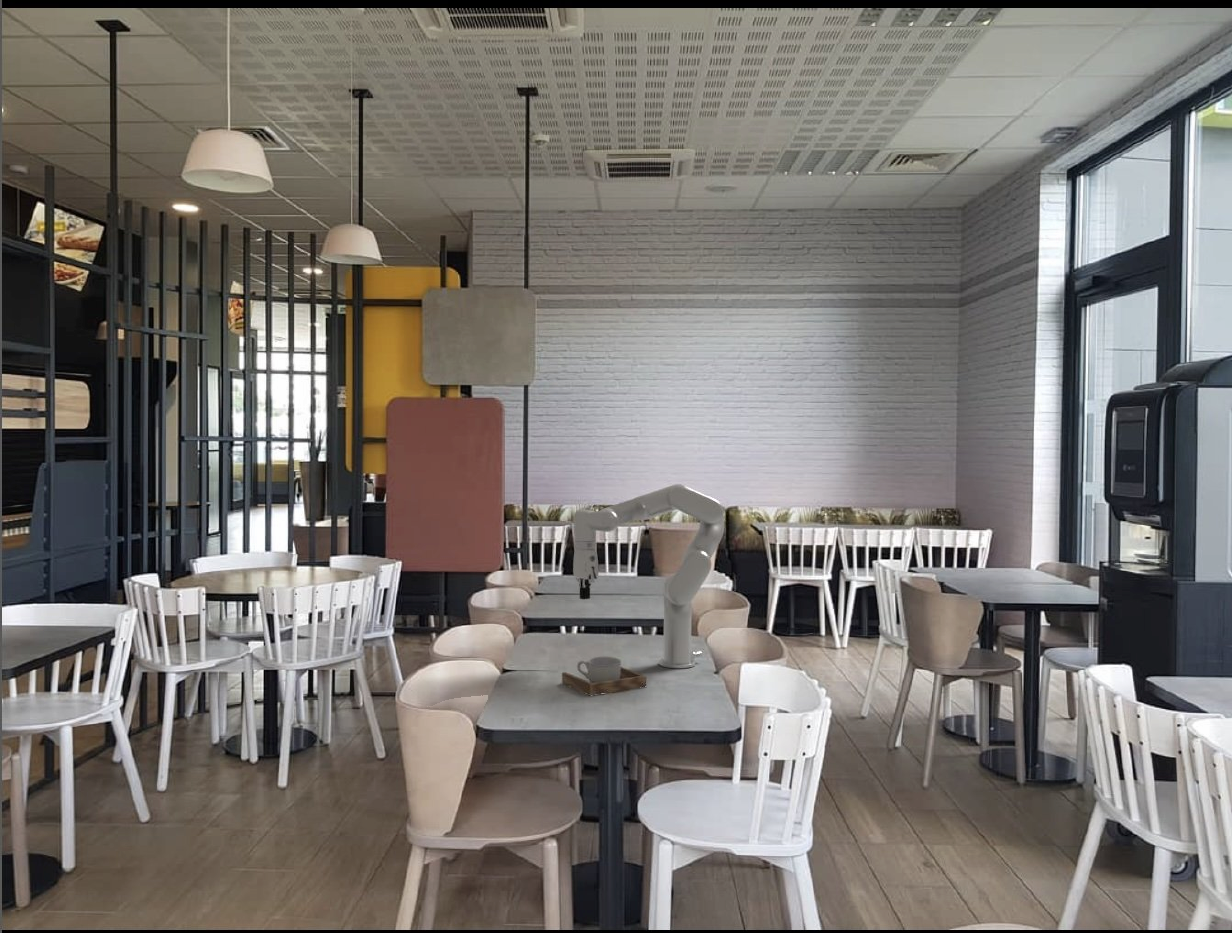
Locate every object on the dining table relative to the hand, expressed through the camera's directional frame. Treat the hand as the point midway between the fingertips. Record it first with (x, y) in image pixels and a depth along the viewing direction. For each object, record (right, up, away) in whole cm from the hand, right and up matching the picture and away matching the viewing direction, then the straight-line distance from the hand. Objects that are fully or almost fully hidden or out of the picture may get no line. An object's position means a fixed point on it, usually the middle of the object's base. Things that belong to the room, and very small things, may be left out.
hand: (584, 598), depth 336 cm
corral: (+7, -24, -27) cm, 37 cm away
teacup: (+5, -24, -26) cm, 36 cm away
